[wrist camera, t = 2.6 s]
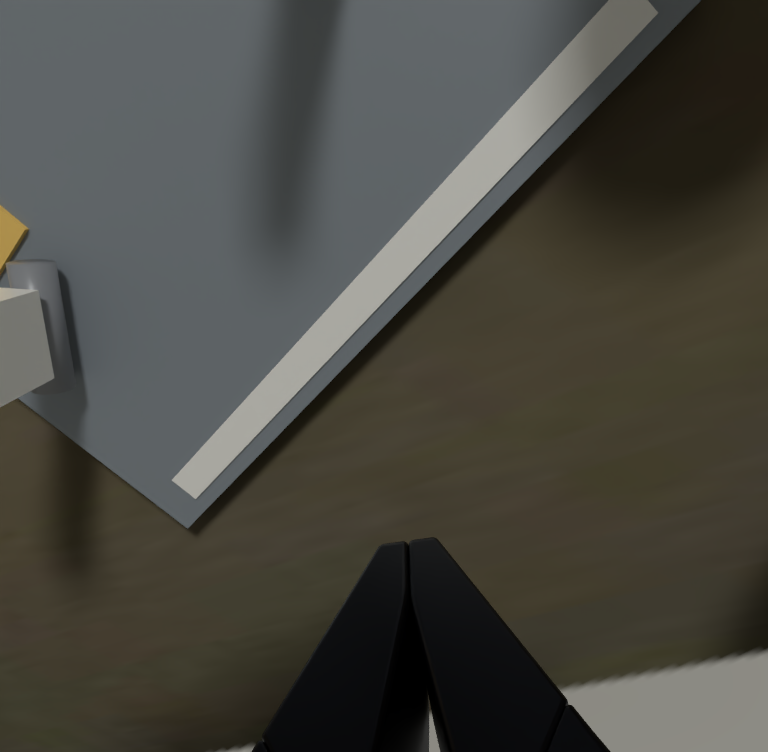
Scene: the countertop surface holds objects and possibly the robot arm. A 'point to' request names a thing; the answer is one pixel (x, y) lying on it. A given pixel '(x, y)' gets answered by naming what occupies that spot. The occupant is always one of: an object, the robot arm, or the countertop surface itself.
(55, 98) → the switch panel
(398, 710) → the robot arm
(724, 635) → the countertop surface
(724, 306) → the countertop surface
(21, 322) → the lever
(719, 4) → the countertop surface
